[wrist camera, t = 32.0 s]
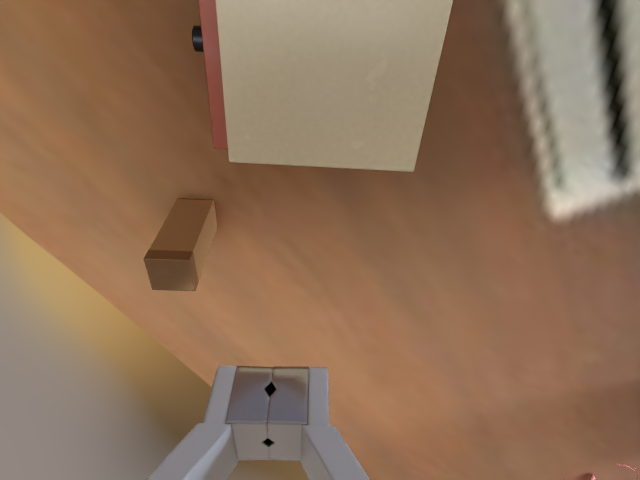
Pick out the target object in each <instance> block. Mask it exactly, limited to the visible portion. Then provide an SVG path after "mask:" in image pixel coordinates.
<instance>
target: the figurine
mask: <svg viewBox="0 0 640 480" xmlns="http://www.w3.org/2000/svg"><path fill="white" fill-rule="evenodd" d="M618 465H621V464H618ZM623 466H625V465H623ZM626 467H628V466H626ZM629 468H630V467H629ZM631 469H632V468H631ZM635 469H636V468H635ZM633 470H634V469H633ZM634 471H635V470H634ZM635 472H636V471H635ZM637 479H638V475H637ZM590 480H595V478H594V475H591V478H590Z"/></svg>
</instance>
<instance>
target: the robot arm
mask: <svg viewBox="0 0 640 480" xmlns="http://www.w3.org/2000/svg"><path fill="white" fill-rule="evenodd" d="M308 383H309V384H308ZM237 460H286V461H301V464H302V466H303V468H304V470H305V472H306V474H307V476H308V478H309V480H370V479H369V478H368V476H367V474H366V473H365V471H364V470H363V468H362V467H361V465H360V464H359V462H358V461H357V459H356V458H355V456H354V454H353V453H352V451H351V450H350V448H349V447H348V445H347V444H346V442H345V441H344V439H343V438H342V436H341V434H340V433H339V431H338V430H337V428H336V427H335V426H332V425H329V390H328V369H327V367H256V366H228V365H219V367H218V369H217V371H216V375H215V379H214V382H213V386H212V390H211V394H210V398H209V402H208V406H207V410H206V414H205V418H204V422H203V423H197V424H196V426H195V427H194V428H193V429H192V430H191V431H190V432H189V433H188V434H187V435H186V436H185V437H184V438H183V439H182V441H181V442H180V443H179V444H178V445H177V446H176V447H175V448H174V449H173V450H172V451H171V452H170V454H169V455H168V456H167V457H166V458H165V459H164V460H163V461H162V462H161V463H160V464H159V465H158V466H157V467H156V468H155V470H154V471H153V472H152V473H151V474H150V475H149V476H148V477H147V478H146V479H145V480H226V479H227V478H228V476H229V475H230V473H231V472H232V470H233V469H234V467H235V466H236V464H237V463H238V461H237Z"/></svg>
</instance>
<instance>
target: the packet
mask: <svg viewBox="0 0 640 480" xmlns="http://www.w3.org/2000/svg"><path fill="white" fill-rule="evenodd" d="M216 230H217V221H216V213H215V206H214V200H195V199H177V201H176V203H175V204H174V206H173V208H172V210H171V212H170V213H169V215H168V217H167V219H166V220H165V222H164V224H163V226H162V228H161V229H160V231H159V233H158V235H157V237H156V238H155V240H154V242H153V244H152V245H151V247H150V249H149V250H148V252H147V254H146V255H145V257H144V262H145V266H146V269H147V273H148V276H149V280H150V283H151V287H152V290H175V291H196V288H197V285H198V282H199V278H200V276H201V273H202V270H203V267H204V264H205V261H206V259H207V256H208V253H209V250H210V247H211V244H212V242H213V239H214V236H215V233H216Z"/></svg>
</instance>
